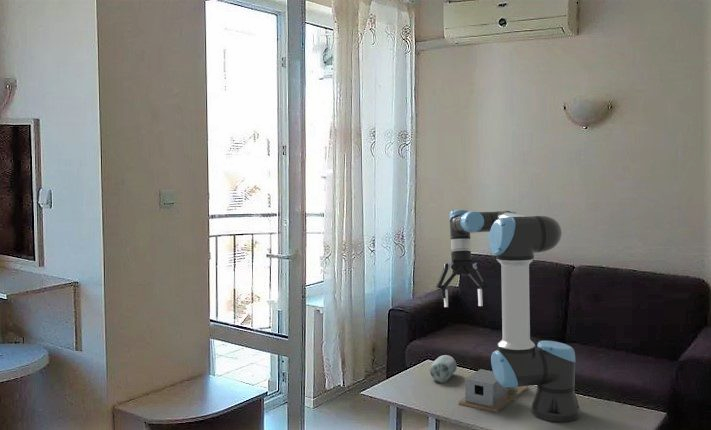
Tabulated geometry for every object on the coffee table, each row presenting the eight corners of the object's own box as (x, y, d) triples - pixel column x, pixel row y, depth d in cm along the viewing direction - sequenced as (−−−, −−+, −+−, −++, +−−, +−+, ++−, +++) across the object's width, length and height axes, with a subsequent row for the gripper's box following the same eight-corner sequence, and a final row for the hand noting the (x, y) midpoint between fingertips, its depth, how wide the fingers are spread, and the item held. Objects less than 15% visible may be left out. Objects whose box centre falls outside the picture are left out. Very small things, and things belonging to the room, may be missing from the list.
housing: (491, 381, 259) (491, 357, 258) (528, 388, 251) (528, 364, 250) (458, 404, 237) (458, 378, 236) (497, 412, 229) (497, 386, 228)
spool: (451, 378, 254) (442, 351, 257) (429, 386, 258) (420, 360, 261) (466, 376, 265) (457, 351, 269) (444, 384, 269) (436, 359, 273)
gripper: (488, 250, 274) (491, 305, 271) (426, 251, 269) (429, 307, 267) (495, 249, 266) (498, 305, 264) (432, 250, 262) (434, 307, 260)
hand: (463, 306), depth 265 cm, fingers open, 13 cm apart
